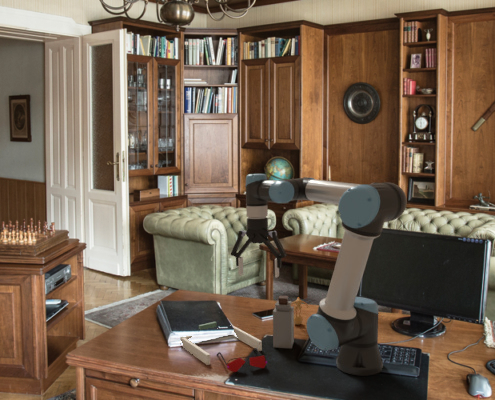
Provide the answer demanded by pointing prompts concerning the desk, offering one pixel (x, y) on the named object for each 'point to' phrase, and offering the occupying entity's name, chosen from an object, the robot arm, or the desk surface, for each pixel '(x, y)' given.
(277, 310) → the perfume bottle
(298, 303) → the figurine
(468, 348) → the desk surface
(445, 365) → the desk surface
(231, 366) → the glasses
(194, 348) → the display cradle
